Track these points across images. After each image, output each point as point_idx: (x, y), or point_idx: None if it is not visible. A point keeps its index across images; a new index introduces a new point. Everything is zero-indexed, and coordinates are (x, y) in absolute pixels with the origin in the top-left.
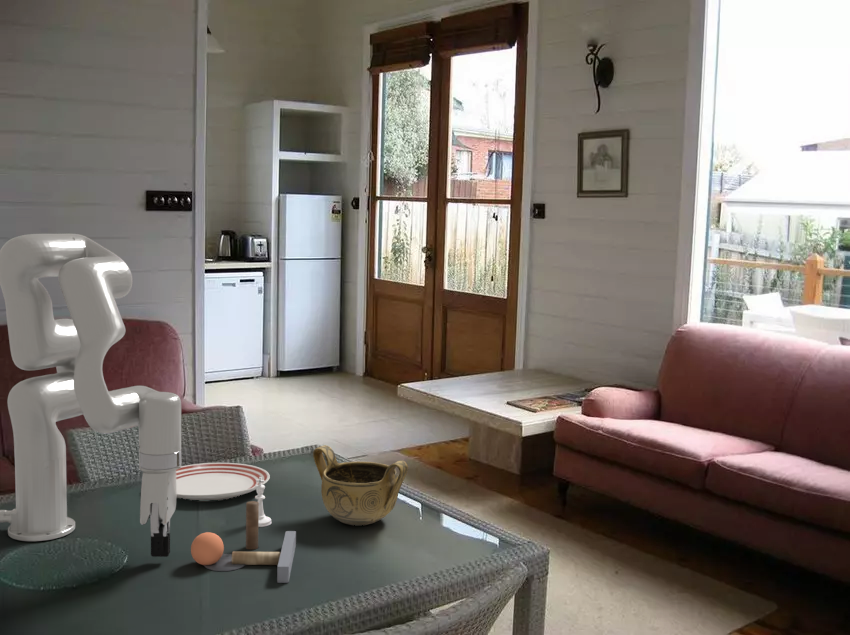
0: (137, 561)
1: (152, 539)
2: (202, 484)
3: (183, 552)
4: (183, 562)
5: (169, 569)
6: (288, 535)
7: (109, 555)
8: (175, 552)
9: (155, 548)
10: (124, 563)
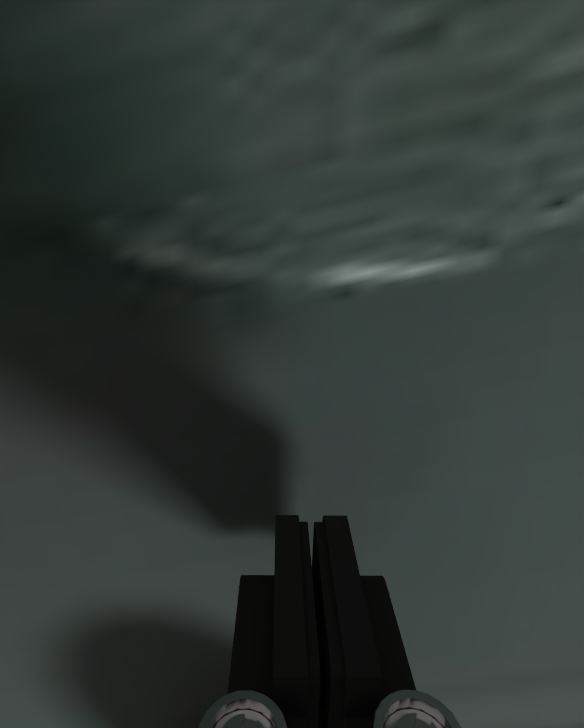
0: (334, 369)
1: (276, 648)
2: None
3: (478, 620)
4: None
5: (188, 593)
6: None
7: (494, 91)
8: (485, 578)
9: (238, 609)
10: (295, 277)
